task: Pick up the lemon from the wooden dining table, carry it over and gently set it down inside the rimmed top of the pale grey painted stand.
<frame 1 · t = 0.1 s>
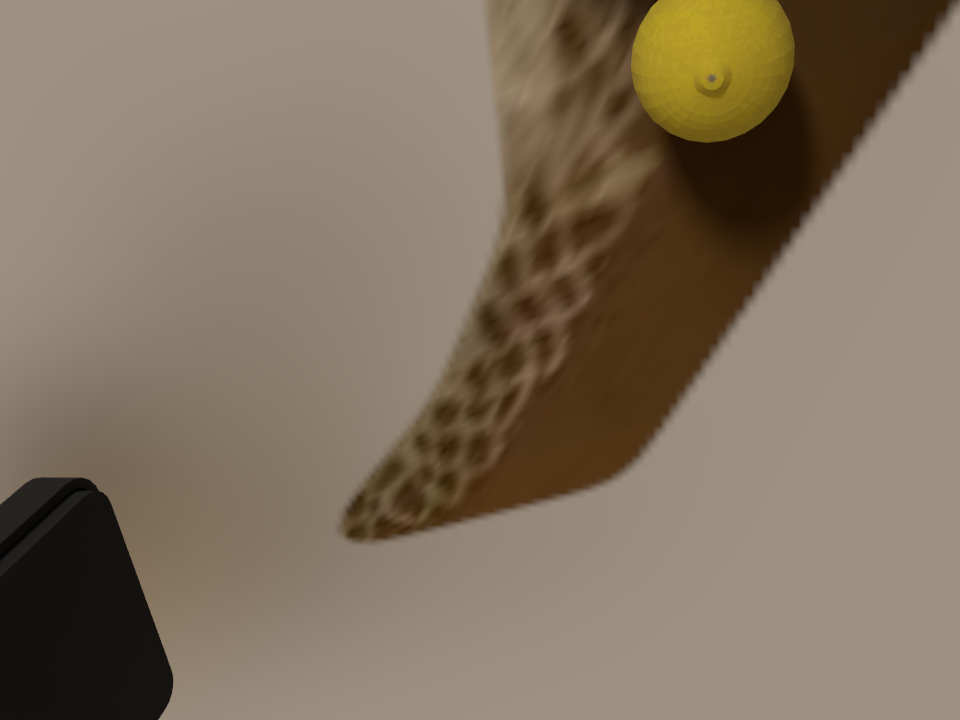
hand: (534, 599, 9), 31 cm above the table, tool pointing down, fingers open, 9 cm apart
lemon: (709, 43, 35), on the table
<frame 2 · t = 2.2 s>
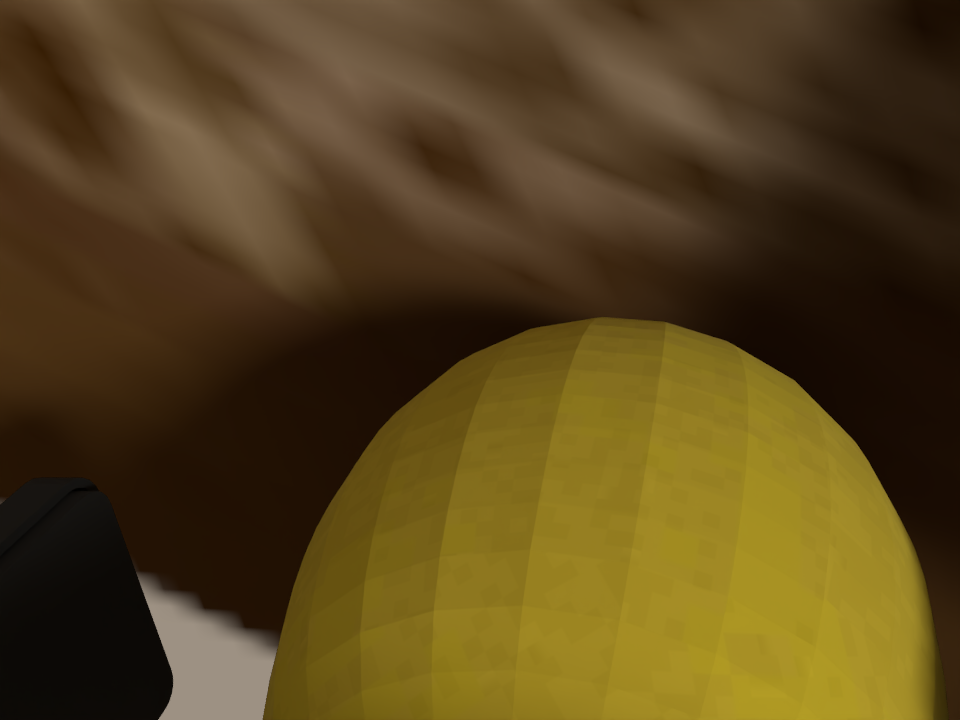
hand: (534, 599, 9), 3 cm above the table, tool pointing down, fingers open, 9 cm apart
lemon: (639, 413, 12), on the table
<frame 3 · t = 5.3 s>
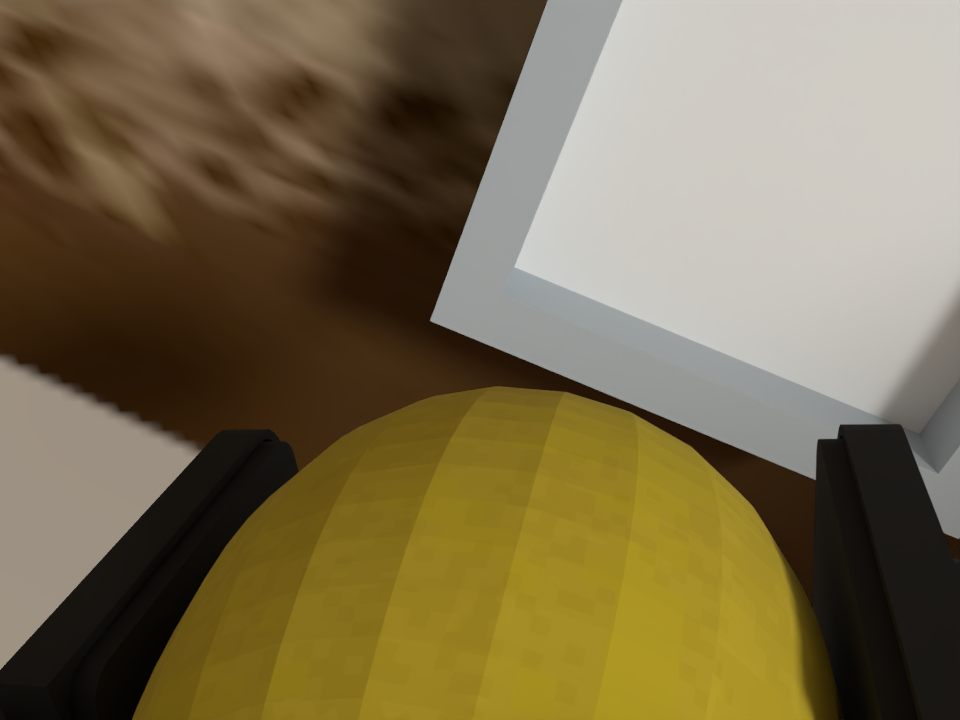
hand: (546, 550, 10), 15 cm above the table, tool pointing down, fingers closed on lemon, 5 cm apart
lemon: (562, 470, 11), point 13 cm above the table, touching gripper
stand: (803, 108, 21), on the table
when the fingers open (7 cm above the table, at t = 7.7 s): lemon drops 2 cm, resting on stand.
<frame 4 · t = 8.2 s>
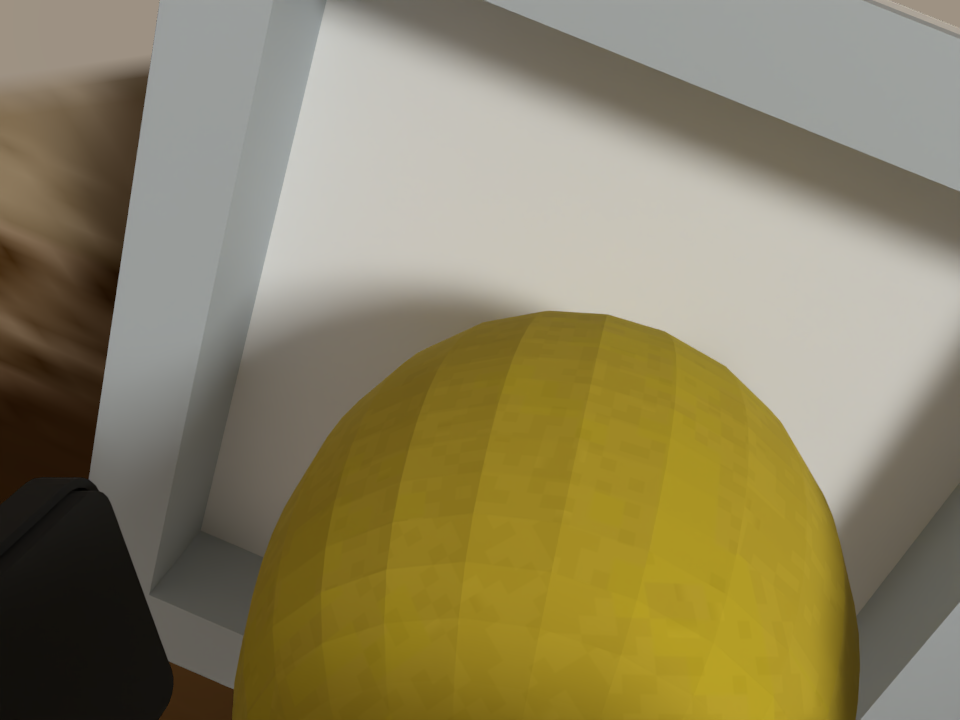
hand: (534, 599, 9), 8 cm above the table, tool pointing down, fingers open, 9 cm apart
lemon: (593, 405, 13), point 4 cm above the table, touching stand
stand: (605, 303, 16), on the table
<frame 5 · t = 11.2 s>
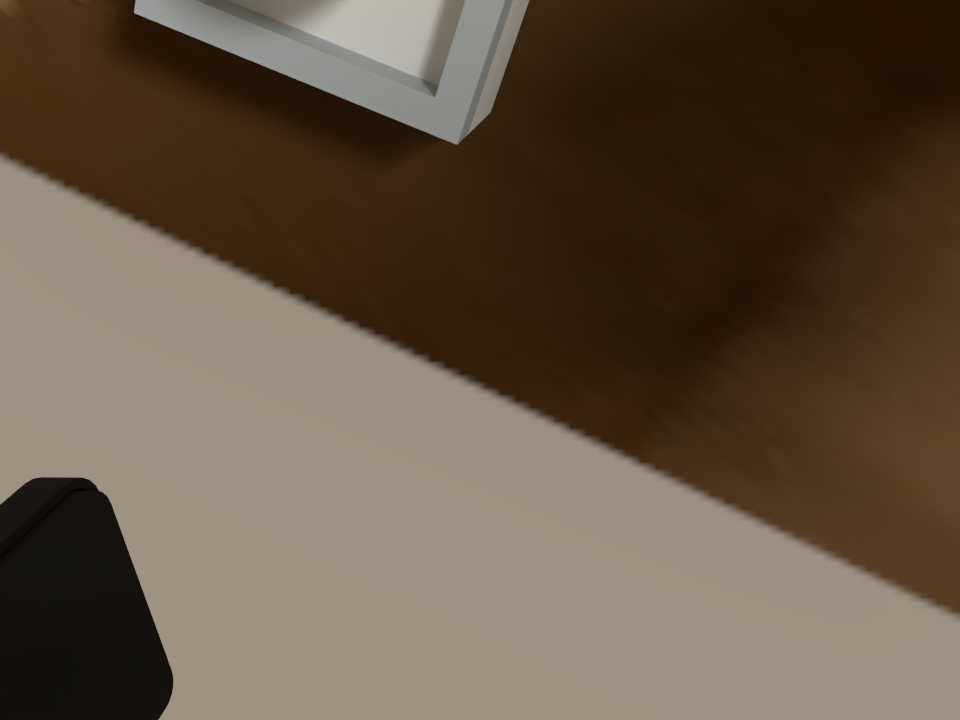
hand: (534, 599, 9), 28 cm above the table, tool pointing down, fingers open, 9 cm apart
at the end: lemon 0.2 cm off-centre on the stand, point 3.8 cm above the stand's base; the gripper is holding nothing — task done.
